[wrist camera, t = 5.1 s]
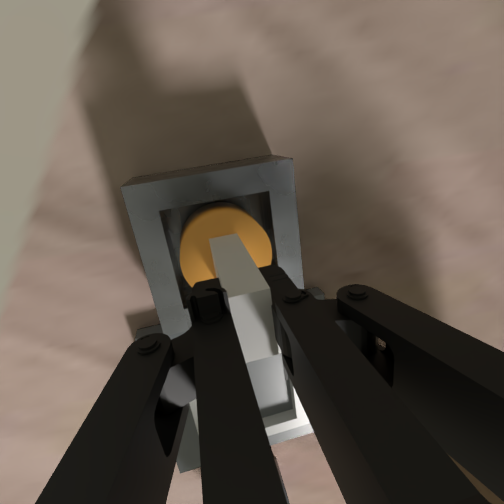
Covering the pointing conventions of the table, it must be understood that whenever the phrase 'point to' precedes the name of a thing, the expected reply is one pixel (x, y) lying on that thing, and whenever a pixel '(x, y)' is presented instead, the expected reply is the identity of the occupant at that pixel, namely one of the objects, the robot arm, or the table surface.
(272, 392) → the plate
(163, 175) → the button station
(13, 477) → the table surface
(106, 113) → the table surface
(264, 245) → the button
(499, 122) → the table surface
